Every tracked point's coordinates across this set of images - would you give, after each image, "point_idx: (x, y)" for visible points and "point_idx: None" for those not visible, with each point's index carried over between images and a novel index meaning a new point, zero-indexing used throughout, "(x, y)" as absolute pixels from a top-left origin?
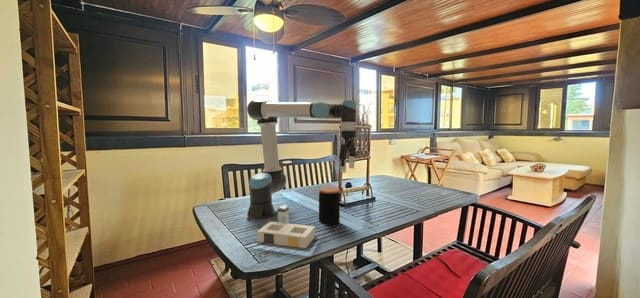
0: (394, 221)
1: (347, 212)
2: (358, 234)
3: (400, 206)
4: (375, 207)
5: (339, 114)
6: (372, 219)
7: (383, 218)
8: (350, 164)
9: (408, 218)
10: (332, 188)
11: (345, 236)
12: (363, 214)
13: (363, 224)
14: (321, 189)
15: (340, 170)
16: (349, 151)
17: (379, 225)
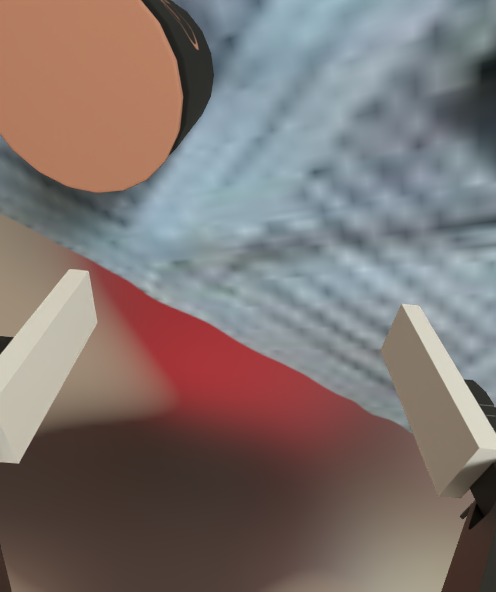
0: (278, 335)
1: (356, 135)
2: (97, 237)
3: (468, 350)
4: (454, 262)
5: None
6: (278, 266)
7: (302, 302)
8: (411, 355)
9: (322, 371)
10: (113, 118)
11: (50, 193)
12: (337, 222)
13: (207, 240)
14: (10, 3)
15: (59, 282)
16: (473, 587)
17: (220, 295)
